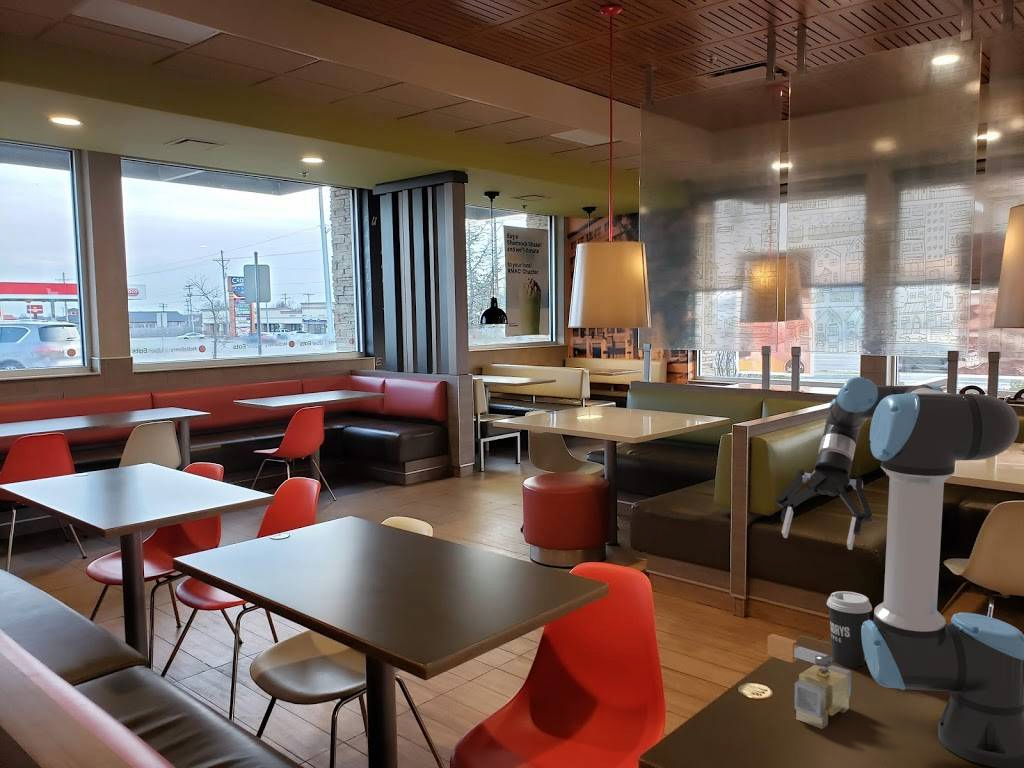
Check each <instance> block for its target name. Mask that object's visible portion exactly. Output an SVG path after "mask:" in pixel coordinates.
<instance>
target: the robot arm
mask: <svg viewBox="0 0 1024 768" xmlns="http://www.w3.org/2000/svg"><path fill="white" fill-rule="evenodd" d="M826 415H827V416H826V421H825V423H824V424H825V425H824V430H823V434H822V437H821V441H820V443H819V444H820V445H819V448H818V455H817V457H816V460H815V461H816V462H815V465H814V470H813V472H812V473H808V472H805V470H804V469H800V470H799V471H797V475H796V477H795V478H794V479H793V480H792V482H790V483H789V485H788V486H787V487H786V488H785V489H784V490H783V491H782V492H781V493H780V494H779V495H778V497H777V498H776V499H775V501H776V503H777V506H778V507H779V508H782V511H781V515H780V520H781V522H782V523H783V524H782V528H781V534H782V537H783V538H784V539H788V536H789V531H790V528H791V524H792V520H793V517H794V511H793V509H795V508H796V507H797V506H799V505H800V504H802V503H803V502H805V501H806V500H807V499H809V498H811V497H812V496H815V495H817V494H820V495H824V496H826V495H828V496H830V497H836V496H839V497H840V499H841V500H842V501H843V502H844V504H845V505H846V507H847V508H848V509H849V511H850V513H851V514H852V515H853V516H851V521H850V526H849V531H848V536H847V541H846V547H847V549H848V550H849V551H850V550H851V551H852V550H853V547H854V541H855V537H856V536H860V535H861V533H862V528H863V524H864V522H871V523H872V522H873V520H874V517H873V514H872V510H871V507H870V506H869V502H868V500H867V497H866V494H865V492H864V481H863V478H862V477H860V476H859V477H856V479H852V478H850V474H851V472H852V471H851V469H852V465H853V460H854V457H855V452H856V446H857V441H858V436H859V434H860V430H861V427H862V425H863V423H864V422H865V421H866V420H871V422H870V428H869V442H870V444H869V445H870V447H869V448H870V451H871V454H872V456H873V457H874V458H875V459H876V460H879V461H880V468H881V469H882V471H884V473H886V475H888V478H889V482H888V483H889V484H888V485H889V486H888V506H887V507H888V508H887V525H886V526H887V528H886V529H887V530H886V543H885V544H886V547H885V548H886V549H885V565H884V566H885V571H884V572H885V573H884V589H883V590H884V591H883V602H881V603H879V604H877V605H876V607H874V610H873V620H872V619H869V620H868V621H865V622H863V625H862V628H861V637H862V645H863V651H864V655H865V656H864V660H865V661H866V665H867V668H868V670H869V672H870V675H871V676H872V678H873V680H874V681H875V683H876V684H878V685H879V686H881V687H884V688H889V689H900V690H901V691H906V690H916V691H917V690H918V691H919V690H920V691H938V692H939V691H941V692H944V691H945V692H949V699H948V701H947V704H945V708H944V710H943V712H942V715H941V718H940V719H939V722H938V728H937V729H938V730H937V733H938V734H937V737H938V740H939V742H940V743H941V745H943V747H944V748H945V749H947V750H948V751H950V752H951V753H953V754H954V755H957V756H959V757H960V758H963V759H965V760H968V761H970V762H972V763H976V764H979V765H983V766H987V767H992V768H1024V634H1023V632H1022V631H1020V629H1018V628H1017V627H1015V626H1013V625H1012V624H1009V623H1007V622H1005V621H1002V620H1000V619H997V618H994V617H992V616H991V617H990V616H987V615H983V614H980V613H979V614H978V613H972V612H971V613H970V612H958V613H957V612H956V613H953V615H952V616H951V618H950V623H947V621H946V619H945V617H944V616H943V615H942V614H941V613H940V612H939V611H938V595H939V594H938V593H939V592H938V591H939V578H940V577H939V574H940V560H941V559H940V558H941V557H940V556H941V540H942V539H941V538H942V524H943V521H942V520H943V503H944V488H945V487H944V485H945V481H946V480H948V479H949V478H951V477H952V476H953V475H954V474H955V472H956V469H955V468H956V461H981V460H986V459H990V458H991V459H992V458H993V457H997V456H998V455H1000V454H1002V453H1004V452H1005V451H1007V450H1008V449H1009V448H1010V446H1012V445H1013V443H1015V440H1016V439H1017V437H1018V434H1019V430H1020V422H1019V420H1020V419H1019V418H1018V415H1017V412H1016V411H1015V409H1014V408H1013V407H1012V406H1011V405H1010V404H1009V403H1008V402H1007V401H1004V400H1003V399H1001V398H999V397H996V396H992V395H987V394H980V393H950V392H945V391H944V390H943V389H942V387H940V386H939V385H929V384H920V385H891V384H890V385H879V384H878V385H876V384H875V382H873V381H872V380H870V379H867V378H866V377H863V376H854V377H851V378H849V379H848V380H846V381H845V382H844V384H842V386H841V388H840V389H839V391H838V392H837V395H836V397H835V398H833V399H832V400H831V402H830V405H829V407H828V410H827V413H826ZM809 480H810V481H811V482H810V483H808V484H807V486H806V487H804V488H803V489H802V490H800V488H801V487H802V486H803V484H805V483H807V482H808V481H809ZM850 486H852V488H853V490H855V491H856V493H857V496H858V499H859V502H860V505H861V507H862V510H863V512H861V511H860V509H859V507H858V506H857V505H856V504H855V502H854V501H853V499H852V498H851V497H850V495H849V493H847V491H846V489H847V488H849V487H850ZM799 490H800V491H799Z"/></svg>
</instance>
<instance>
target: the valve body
mask: <svg viewBox="0 0 1024 768" xmlns="http://www.w3.org/2000/svg"><path fill="white" fill-rule="evenodd" d="M851 690H852V670H849V669H845V668H843V667H840V666H836V665H833V664H832V666H829V667H828V672H821V671H819V665H818V664H814V665H812V666H810V667H809V668H807V669H805V670H804V671H802V672H800V673H799V674H798V680H797V681H795V682H794V704H793V705H794V710H796V712H795V713H796V716H795V719H796V720H797V721H800V722H801V723H802V722H803V723H806V724H808V725H811V726H813V727H816V728H819V729H821V730H823V729H824V728H827V726H828V725H829V716H832V717H833V716H835V715H836V714H837V713H838V712H839V713H842V714H845V713H846V712H847V711H849V707H850V703H849V702H850V697H851V696H852V695H851V693H852V691H851Z"/></svg>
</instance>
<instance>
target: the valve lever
mask: <svg viewBox="0 0 1024 768" xmlns="http://www.w3.org/2000/svg"><path fill="white" fill-rule="evenodd" d="M798 642H799V641H798V640H795V639H791V638H789V637H786V636H782V635H778V634H775V633H771V634H769V635H767V656H770V657H773V658H776V659H779V660H780V661H785V662H787V663H792V664H793V663H795V662H797V661H798V659H800V660H802V661H806V662H809V663H813V664H814V665H817V666H819V671H821V672H828V667H829V666H832V665H833V656H831V655H829V654H826V653H823V652H819V651H817V650H813V649H810V648H806V647H803V646H799V645H798Z"/></svg>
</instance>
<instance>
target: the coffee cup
mask: <svg viewBox="0 0 1024 768" xmlns="http://www.w3.org/2000/svg"><path fill="white" fill-rule="evenodd" d="M826 606H828V610H829V611H828V613H829V624H830V638H831V639H830V640H831V649H832V650H831V651H832V658H833V659H832V661H834V662H835V663H836V664H838V665H840V664H841V665H840V666H843V665H845V666H844V667H848V666H850V667H849V668H857V667H858V666H859V667H862V666H863V665H864V663H865V662H864V661H865V655H864V651H863V645H862V637H861V628H862V625H863V622H865V621H868V620H870V612H872V610H873V607H872V604H871V602H870V599H869V597H867V596H866V595H864V594H861V593H858V592H854V591H843V590H841V591H839V590H838V591H835V592H832V593H831V594H830V596H829V597H828V599H827V601H826ZM859 667H858V668H859Z"/></svg>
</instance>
